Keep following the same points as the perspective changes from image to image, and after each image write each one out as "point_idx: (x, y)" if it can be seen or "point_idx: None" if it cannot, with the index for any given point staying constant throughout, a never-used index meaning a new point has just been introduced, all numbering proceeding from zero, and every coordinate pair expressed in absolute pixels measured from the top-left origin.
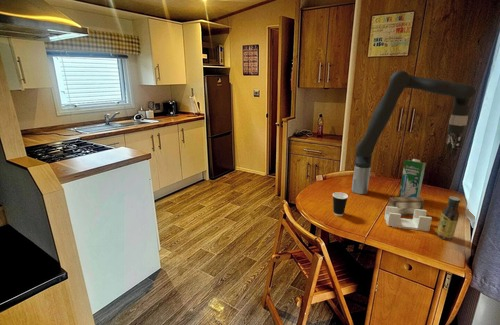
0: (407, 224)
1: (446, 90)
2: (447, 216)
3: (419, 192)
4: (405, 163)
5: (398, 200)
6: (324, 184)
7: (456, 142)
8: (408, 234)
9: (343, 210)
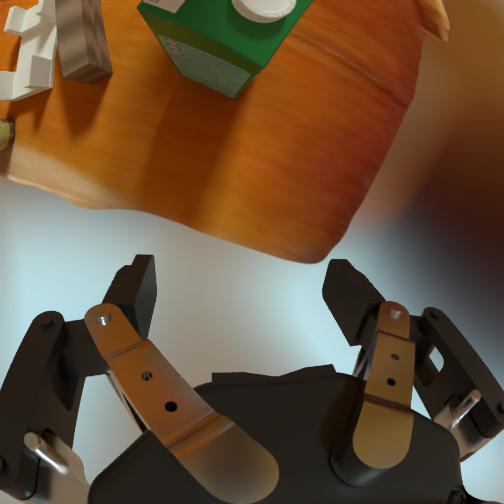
0: (27, 51)
1: None
2: None
3: (223, 89)
4: None
5: (56, 4)
6: None
7: (8, 387)
8: (4, 61)
9: None
